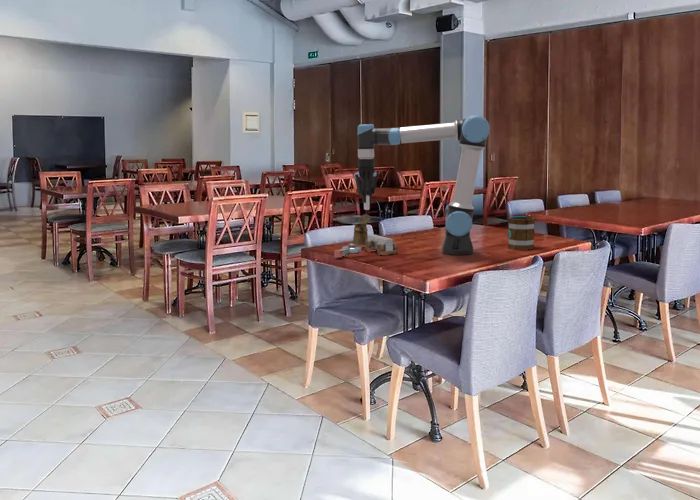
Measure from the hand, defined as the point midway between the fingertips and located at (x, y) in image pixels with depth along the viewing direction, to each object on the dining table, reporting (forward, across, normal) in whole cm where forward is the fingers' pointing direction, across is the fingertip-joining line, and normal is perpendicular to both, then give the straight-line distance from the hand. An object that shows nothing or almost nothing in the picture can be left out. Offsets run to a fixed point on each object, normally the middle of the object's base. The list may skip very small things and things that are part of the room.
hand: (366, 209), depth 302 cm
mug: (+23, -76, +19) cm, 82 cm away
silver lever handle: (+22, +7, -6) cm, 24 cm away
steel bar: (+20, -11, -7) cm, 24 cm away
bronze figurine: (+23, -11, -25) cm, 35 cm away
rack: (+22, -11, -6) cm, 26 cm away
